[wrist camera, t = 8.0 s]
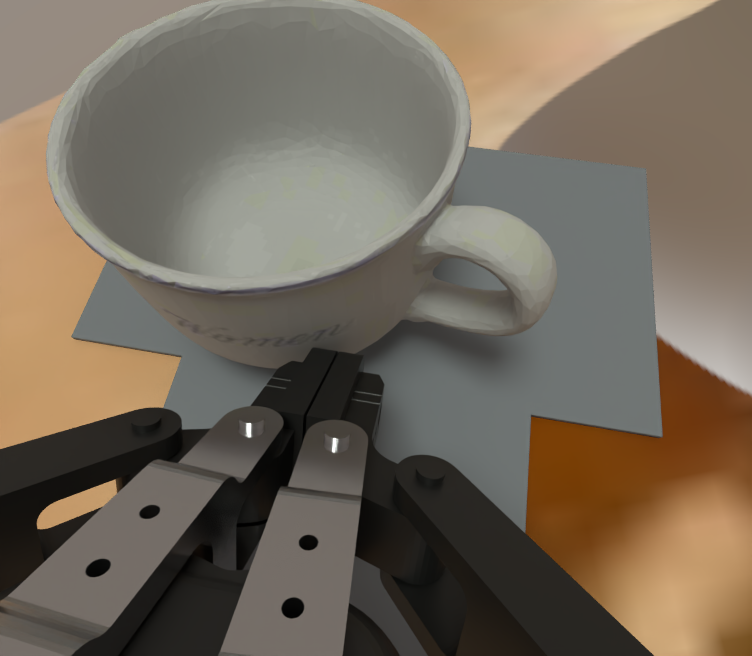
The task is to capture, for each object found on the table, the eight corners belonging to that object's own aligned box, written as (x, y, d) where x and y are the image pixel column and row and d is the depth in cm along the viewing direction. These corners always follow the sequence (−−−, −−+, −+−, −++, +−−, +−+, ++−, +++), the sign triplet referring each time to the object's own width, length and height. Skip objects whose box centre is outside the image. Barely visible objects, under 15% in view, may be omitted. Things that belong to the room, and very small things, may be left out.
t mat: (643, 171, 21) (645, 168, 21) (691, 972, 11) (695, 979, 11) (178, 114, 23) (177, 110, 23) (-122, 760, 13) (-130, 764, 13)
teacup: (121, 270, 19) (-42, 109, 12) (314, 125, 22) (280, -76, 15) (365, 526, 15) (347, 523, 8) (560, 307, 18) (679, 156, 11)
